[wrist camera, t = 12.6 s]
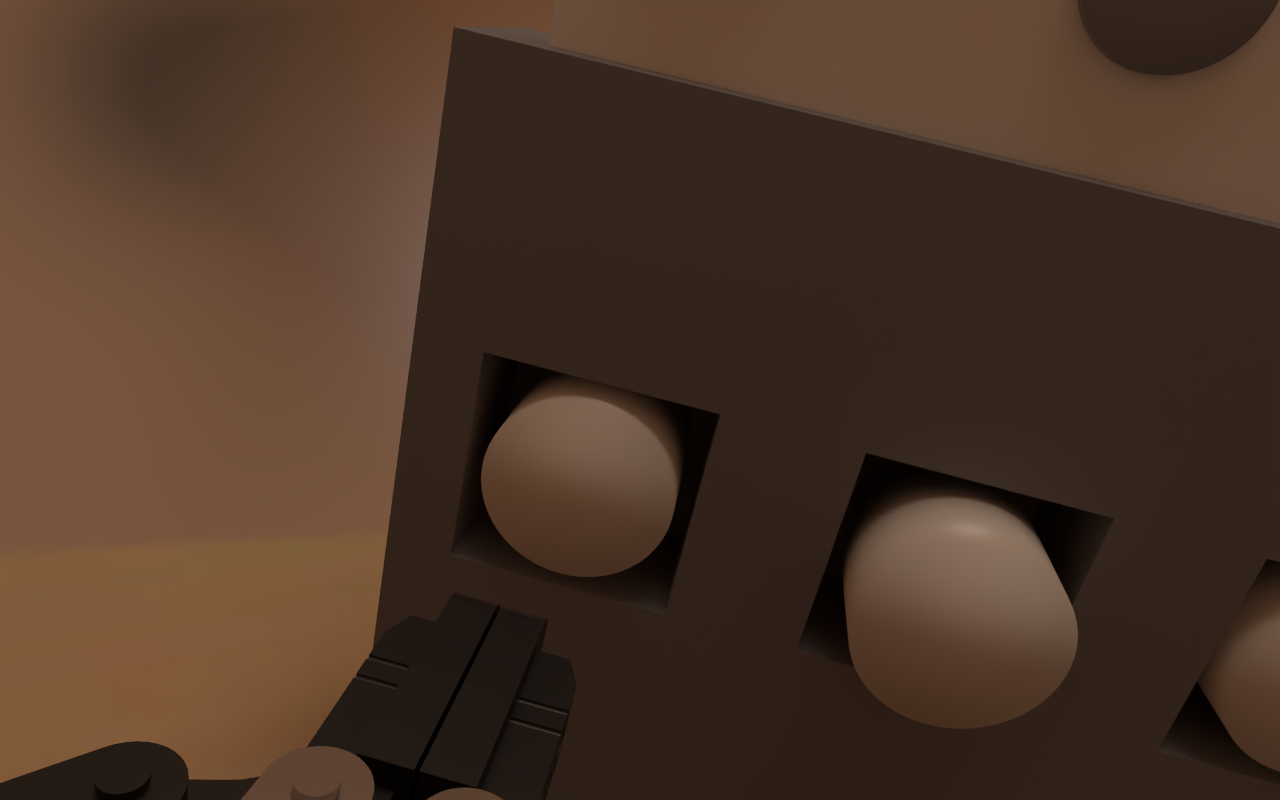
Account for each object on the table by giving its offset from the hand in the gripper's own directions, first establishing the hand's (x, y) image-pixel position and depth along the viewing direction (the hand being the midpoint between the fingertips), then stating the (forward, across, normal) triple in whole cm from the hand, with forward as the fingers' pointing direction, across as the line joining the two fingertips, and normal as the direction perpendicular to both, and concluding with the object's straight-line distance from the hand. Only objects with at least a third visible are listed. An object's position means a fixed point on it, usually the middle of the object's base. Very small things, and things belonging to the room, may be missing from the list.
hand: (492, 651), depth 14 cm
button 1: (+7, 0, +2) cm, 8 cm away
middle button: (+6, -8, +2) cm, 10 cm away
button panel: (+8, -8, +11) cm, 16 cm away
